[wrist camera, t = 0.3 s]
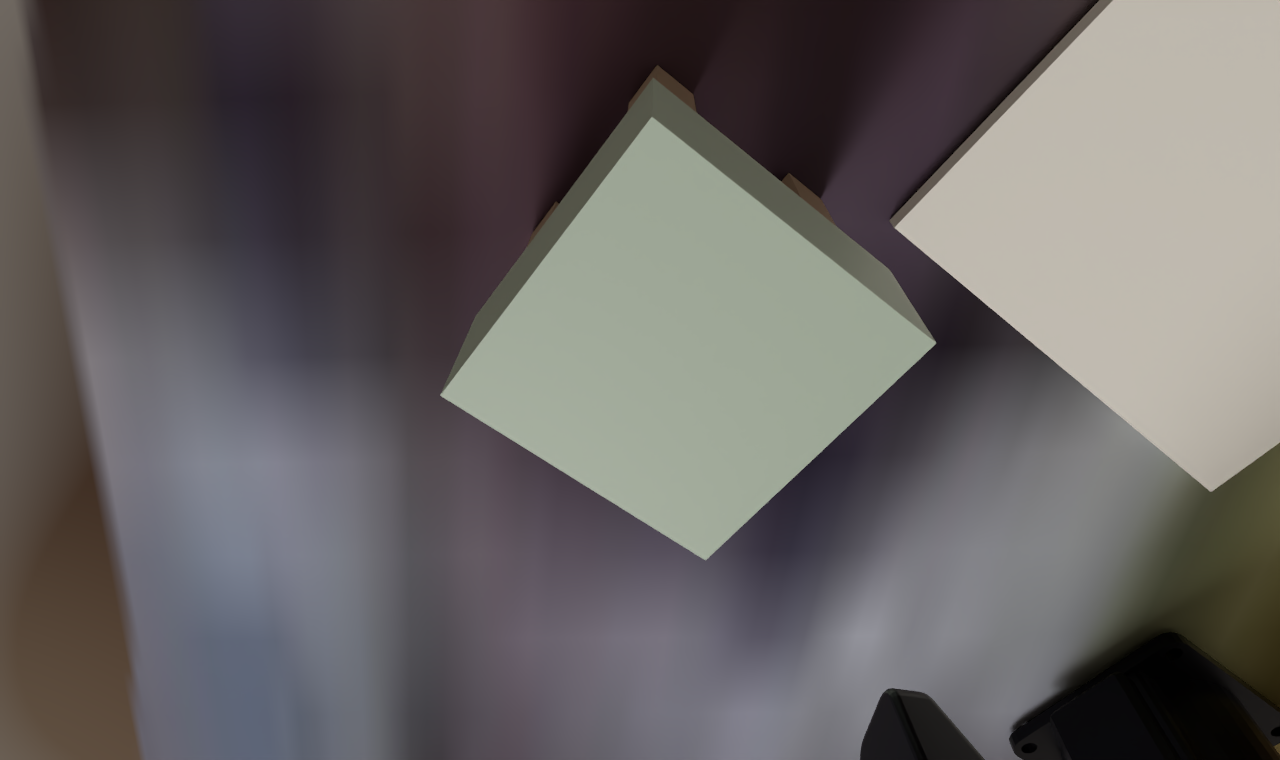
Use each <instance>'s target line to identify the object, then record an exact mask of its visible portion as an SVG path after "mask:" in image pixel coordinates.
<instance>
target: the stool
mask: <svg viewBox="0 0 1280 760" xmlns="http://www.w3.org/2000/svg"><path fill="white" fill-rule="evenodd" d="M935 344H936V342H935V340H934V339H933V337H932V335H931V334H930V332H929V331H928V329H927V328H926V326H925V324H924V323H923V321H922V320H921V318H920V317H919V315H918V314H917V312H916V310H915V309H914V307H913V306H912V304H911V303H910V301H909V299H908V298H907V296H906V295H905V293H904V292H903V290H902V289H901V287H900V285H899V284H898V282H897V281H896V279H895V278H894V276H893V274H892V273H891V271H890V270H889V269H888V268H887V267H886V266H884V265H883V264H882V263H881V262H879V261H878V260H877V259H876V258H874V257H873V256H872V255H871V254H870V253H868V252H867V251H866V250H865V249H863V248H862V247H861V246H860V245H858V244H857V243H856V242H855V241H854V240H852V239H851V238H850V237H849V236H847V235H846V234H845V233H844V232H843V231H841V230H840V229H839V228H838V227H836V225H835V223H834V222H833V220H832V218H831V216H830V214H829V213H828V211H827V209H826V207H825V205H824V204H823V202H822V200H821V199H820V198H819V197H818V196H816V195H815V194H814V193H813V192H812V191H810V190H809V189H808V188H807V187H806V186H804V185H803V184H802V183H801V182H799V181H798V180H797V179H796V178H795V177H793V176H792V175H791V174H790V173H788V174H787V175H786V177H785V178H784V179H783V180H782V181H780V180H779V179H777V178H776V177H775V176H774V175H772V174H771V173H770V172H769V171H768V170H766V169H765V168H764V167H763V166H761V165H760V164H759V163H758V162H756V161H755V160H754V159H753V158H752V157H750V156H749V155H748V154H747V153H745V152H744V151H743V150H742V149H740V148H739V147H738V146H737V145H736V144H734V143H733V142H732V141H731V140H729V139H728V138H727V137H726V136H724V135H723V134H722V133H721V132H720V131H718V130H717V129H716V128H715V127H713V126H712V125H711V124H710V123H709V122H707V121H706V120H705V119H704V118H702V117H701V116H700V115H699V114H697V112H696V106H695V101H694V96H693V94H692V93H691V92H690V91H688V90H687V89H686V88H685V87H684V86H682V85H681V84H680V83H679V82H678V81H676V80H675V79H674V78H673V77H671V76H670V75H669V74H668V73H667V72H665V71H664V70H663V69H662V68H660V67H659V66H658V65H657V66H656V67H655V68H654V70H653V71H652V72H651V74H650V75H649V76H648V78H647V79H646V80H645V82H644V83H643V84H642V86H641V87H640V89H639V90H638V91H637V93H636V94H635V95H634V97H633V98H632V99H631V101H630V102H629V106H628V112H627V113H626V115H625V116H624V117H623V119H622V120H621V121H620V123H619V124H618V125H617V127H616V128H615V129H614V131H613V132H612V134H611V135H610V136H609V138H608V139H607V140H606V142H605V143H604V144H603V146H602V147H601V148H600V150H599V151H598V152H597V154H596V155H595V156H594V158H593V159H592V160H591V162H590V163H589V164H588V166H587V167H586V169H585V170H584V171H583V173H582V174H581V175H580V177H579V178H578V179H577V181H576V182H575V183H574V185H573V186H572V187H571V189H570V190H569V191H568V193H567V194H566V195H565V197H564V198H563V199H562V201H561V202H560V204H559V203H558V202H555V203H554V205H553V206H552V207H551V209H550V210H549V212H548V213H547V214H546V216H545V217H544V218H543V220H542V221H541V222H540V224H539V225H538V226H537V228H536V229H535V230H534V232H533V233H532V235H531V238H530V240H529V243H528V245H527V248H526V249H525V251H524V252H523V253H522V255H521V256H520V257H519V259H518V260H517V261H516V263H515V264H514V265H513V267H512V268H511V269H510V271H509V272H508V274H507V275H506V276H505V278H504V279H503V280H502V282H501V283H500V284H499V286H498V287H497V288H496V290H495V291H494V292H493V294H492V295H491V296H490V298H489V299H488V300H487V302H486V303H485V304H484V306H483V307H482V308H481V310H480V311H479V313H478V314H477V315H476V317H475V319H474V321H473V323H472V326H471V328H470V330H469V332H468V335H467V337H466V339H465V341H464V344H463V346H462V348H461V350H460V352H459V355H458V357H457V359H456V361H455V364H454V366H453V368H452V370H451V373H450V375H449V377H448V379H447V382H446V384H445V386H444V388H443V390H442V393H441V395H440V396H442V397H443V398H445V399H447V400H448V401H450V402H452V403H453V404H455V405H456V406H458V407H460V408H461V409H463V410H464V411H466V412H468V413H469V414H471V415H472V416H474V417H476V418H477V419H479V420H480V421H482V422H484V423H485V424H487V425H489V426H490V427H492V428H493V429H495V430H497V431H498V432H500V433H501V434H503V435H505V436H506V437H508V438H509V439H511V440H513V441H514V442H516V443H518V444H519V445H521V446H522V447H524V448H526V449H527V450H529V451H530V452H532V453H534V454H535V455H537V456H538V457H540V458H542V459H543V460H545V461H546V462H548V463H550V464H551V465H553V466H555V467H556V468H558V469H559V470H561V471H563V472H564V473H566V474H567V475H569V476H571V477H572V478H574V479H575V480H577V481H579V482H580V483H582V484H583V485H585V486H587V487H588V488H590V489H592V490H593V491H595V492H596V493H598V494H600V495H601V496H603V497H604V498H606V499H608V500H609V501H611V502H612V503H614V504H616V505H617V506H619V507H620V508H622V509H624V510H625V511H627V512H629V513H630V514H632V515H633V516H635V517H637V518H638V519H640V520H641V521H643V522H645V523H646V524H648V525H649V526H651V527H653V528H654V529H656V530H657V531H659V532H661V533H662V534H664V535H666V536H667V537H669V538H670V539H672V540H674V541H675V542H677V543H678V544H680V545H682V546H683V547H685V548H686V549H688V550H690V551H691V552H693V553H694V554H696V555H698V556H699V557H701V558H703V559H704V560H706V559H707V558H709V557H710V556H711V555H712V554H713V553H714V552H715V551H716V550H717V549H718V548H719V547H720V546H721V545H722V544H723V543H724V542H726V541H727V540H728V539H729V538H730V537H731V536H732V535H733V534H734V533H735V532H736V531H737V530H738V529H739V528H740V527H742V526H743V525H744V524H745V523H746V522H747V521H748V520H749V519H750V518H751V517H752V516H753V515H754V514H755V513H756V512H757V511H759V510H760V509H761V508H762V507H763V506H764V505H765V504H766V503H767V502H768V501H769V500H770V499H771V498H772V497H773V496H774V495H776V494H777V493H778V492H779V491H780V490H781V489H782V488H783V487H784V486H785V485H786V484H787V483H788V482H789V481H790V480H791V479H793V478H794V477H795V476H796V475H797V474H798V473H799V472H800V471H801V470H802V469H803V468H804V467H805V466H806V465H807V464H809V463H810V462H811V461H812V460H813V459H814V458H815V457H816V456H817V455H818V454H819V453H820V452H821V451H822V450H823V449H824V448H826V447H827V446H828V445H829V444H830V443H831V442H832V441H833V440H834V439H835V438H836V437H837V436H838V435H839V434H840V433H841V432H843V431H844V430H845V429H846V428H847V427H848V426H849V425H850V424H851V423H852V422H853V421H854V420H855V419H856V418H857V417H858V416H860V415H861V414H862V413H863V412H864V411H865V410H866V409H867V408H868V407H869V406H870V405H871V404H872V403H873V402H874V401H875V400H877V399H878V398H879V397H880V396H881V395H882V394H883V393H884V392H885V391H886V390H887V389H888V388H889V387H890V386H891V385H893V384H894V383H895V382H896V381H897V380H898V379H899V378H900V377H901V376H902V375H903V374H904V373H905V372H906V371H907V370H908V369H910V368H911V367H912V366H913V365H914V364H915V363H916V362H917V361H918V360H919V359H920V358H921V357H922V356H923V355H924V354H925V353H927V352H928V351H929V350H930V349H931V348H932V347H933V346H934V345H935Z"/></svg>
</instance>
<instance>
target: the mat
mask: <svg viewBox="0 0 1280 760" xmlns="http://www.w3.org/2000/svg"><path fill="white" fill-rule="evenodd" d="M889 221H890V222H891V224H892V225H893V226H894V228H895V229H897V230H898V231H899V232H900V233H901V234H903V235H904V236H905V237H906V238H907V239H909V240H910V241H911V242H912V243H913V244H915V245H916V246H917V247H918V248H919V249H921V250H922V251H923V252H924V253H925V254H927V255H928V256H929V257H930V258H931V259H932V260H934V261H935V262H936V263H937V264H938V265H940V266H941V267H942V268H943V269H944V270H946V271H947V272H948V273H949V274H950V275H952V276H953V277H954V278H955V279H956V280H958V281H959V282H960V283H961V284H962V285H964V286H965V287H966V288H967V289H968V290H970V291H971V292H972V293H973V294H974V295H976V296H977V297H978V298H979V299H980V300H982V301H983V302H984V303H985V304H986V305H988V306H989V307H990V308H991V309H992V310H994V311H995V312H996V313H997V314H998V315H1000V316H1001V317H1002V318H1003V319H1004V320H1006V321H1007V322H1008V323H1009V324H1010V325H1011V326H1013V327H1014V328H1015V329H1016V330H1017V331H1019V332H1020V333H1021V334H1022V335H1023V336H1025V337H1026V338H1027V339H1028V340H1029V341H1031V342H1032V343H1033V344H1034V345H1035V346H1037V347H1038V348H1039V349H1040V350H1041V351H1043V352H1044V353H1045V354H1046V355H1047V356H1049V357H1050V358H1051V359H1052V360H1053V361H1055V362H1056V363H1057V364H1058V365H1059V366H1061V367H1062V368H1063V369H1064V370H1065V371H1067V372H1068V373H1069V374H1070V375H1071V376H1073V377H1074V378H1075V379H1076V380H1077V381H1079V382H1080V383H1081V384H1082V385H1083V386H1085V387H1086V388H1087V389H1088V390H1089V391H1091V392H1092V393H1093V394H1094V395H1095V396H1096V397H1098V398H1099V399H1100V400H1101V401H1102V402H1104V403H1105V404H1106V405H1107V406H1108V407H1110V408H1111V409H1112V410H1113V411H1114V412H1116V413H1117V414H1118V415H1119V416H1120V417H1122V418H1123V419H1124V420H1125V421H1126V422H1128V423H1129V424H1130V425H1131V426H1132V427H1134V428H1135V429H1136V430H1137V431H1138V432H1140V433H1141V434H1142V435H1143V436H1144V437H1146V438H1147V439H1148V440H1149V441H1150V442H1152V443H1153V444H1154V445H1155V446H1156V447H1158V448H1159V449H1160V450H1161V451H1162V452H1164V453H1165V454H1166V455H1167V456H1168V457H1170V458H1171V459H1172V460H1173V461H1174V462H1176V463H1177V464H1178V465H1179V466H1180V467H1181V468H1183V469H1184V470H1185V471H1186V472H1187V473H1189V474H1190V475H1191V476H1192V477H1193V478H1195V479H1196V480H1197V481H1198V482H1199V483H1201V484H1202V485H1203V486H1204V487H1205V488H1207V489H1208V490H1209V491H1210V492H1212V491H1213V490H1215V489H1216V488H1217V487H1219V486H1220V485H1222V484H1223V483H1224V482H1226V481H1227V480H1228V479H1230V478H1231V477H1233V476H1234V475H1235V474H1237V473H1238V472H1240V471H1241V470H1242V469H1244V468H1245V467H1246V466H1248V465H1249V464H1251V463H1252V462H1253V461H1255V460H1256V459H1258V458H1259V457H1260V456H1262V455H1263V454H1264V453H1266V452H1267V451H1269V450H1270V449H1271V448H1273V447H1274V446H1276V445H1277V444H1278V443H1280V0H1099V1H1098V2H1097V3H1096V4H1095V5H1094V6H1093V8H1092V9H1091V10H1090V11H1089V12H1088V13H1087V14H1086V15H1085V16H1084V17H1083V18H1082V19H1081V20H1080V21H1079V22H1078V23H1077V24H1076V25H1075V26H1074V27H1073V29H1072V30H1071V31H1070V32H1069V33H1068V34H1067V35H1066V36H1065V37H1064V38H1063V39H1062V40H1061V41H1060V42H1059V43H1058V44H1057V45H1056V46H1055V47H1054V48H1053V49H1052V51H1051V52H1050V53H1049V54H1048V55H1047V56H1046V57H1045V58H1044V59H1043V60H1042V61H1041V62H1040V63H1039V64H1038V65H1037V66H1036V67H1035V68H1034V69H1033V70H1032V71H1031V73H1030V74H1029V75H1028V76H1027V77H1026V78H1025V79H1024V80H1023V81H1022V82H1021V83H1020V84H1019V85H1018V86H1017V87H1016V88H1015V89H1014V90H1013V91H1012V92H1011V93H1010V95H1009V96H1008V97H1007V98H1006V99H1005V100H1004V101H1003V102H1002V103H1001V104H1000V105H999V106H998V107H997V108H996V109H995V110H994V111H993V112H992V113H991V114H990V116H989V117H988V118H987V119H986V120H985V121H984V122H983V123H982V124H981V125H980V126H979V127H978V128H977V129H976V130H975V131H974V132H973V133H972V134H971V135H970V136H969V138H968V139H967V140H966V141H965V142H964V143H963V144H962V145H961V146H960V147H959V148H958V149H957V150H956V151H955V152H954V153H953V154H952V155H951V156H950V157H949V158H948V160H947V161H946V162H945V163H944V164H943V165H942V166H941V167H940V168H939V169H938V170H937V171H936V172H935V173H934V174H933V175H932V176H931V177H930V178H929V179H928V181H927V182H926V183H925V184H924V185H923V186H922V187H921V188H920V189H919V190H918V191H917V192H916V193H915V194H914V195H913V196H912V197H911V198H910V199H909V200H908V201H907V203H906V204H905V205H904V206H903V207H902V208H901V209H900V210H899V211H898V212H897V213H896V214H895V215H894V216H893V217H892V218H891V219H890V220H889Z"/></svg>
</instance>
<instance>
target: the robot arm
mask: <svg viewBox="0 0 1280 760" xmlns="http://www.w3.org/2000/svg"><path fill="white" fill-rule="evenodd" d="M1009 741H1010V744H1011V746H1012V749H1013V751H1014V753H1015V754H1016V755H1017V756H1018V757H1020V758H1021V759H1023V760H1280V755H1279V753H1278V752H1277V751H1276V749H1275V748H1274V747H1273V746H1275V745H1277V744H1278V743H1280V708H1279V707H1277V706H1276V705H1275V704H1273V703H1272V702H1271V701H1269V700H1268V699H1266V698H1265V697H1264V696H1262V695H1261V694H1260V693H1258V692H1257V691H1256V690H1254V689H1253V688H1252V687H1250V686H1249V685H1248V684H1246V683H1245V682H1244V681H1242V680H1241V679H1240V678H1238V677H1237V676H1236V675H1234V674H1233V673H1231V672H1230V671H1229V670H1227V669H1226V668H1225V667H1223V666H1222V665H1221V664H1219V663H1218V662H1217V661H1215V660H1214V659H1213V658H1211V657H1210V656H1209V655H1207V654H1206V653H1205V652H1203V651H1202V650H1201V649H1199V648H1198V647H1197V646H1195V645H1194V644H1192V643H1191V642H1190V641H1188V640H1187V639H1186V638H1184V637H1183V636H1182V635H1180V634H1178V633H1171V632H1169V633H1165V634H1162V635H1160V636H1158V637H1156V638H1154V639H1153V640H1151V641H1150V642H1148V643H1147V644H1145V645H1144V646H1142V647H1141V648H1139V649H1138V650H1136V651H1135V652H1133V653H1132V654H1130V655H1129V656H1127V657H1126V658H1124V659H1123V660H1121V661H1120V662H1118V663H1117V664H1115V665H1114V666H1112V667H1111V668H1109V669H1108V670H1106V671H1105V672H1103V673H1102V674H1100V675H1099V676H1097V677H1096V678H1094V679H1093V680H1091V681H1090V682H1088V683H1087V684H1085V685H1084V686H1082V687H1081V688H1079V689H1078V690H1076V691H1075V692H1073V693H1072V694H1070V695H1069V696H1067V697H1066V698H1064V699H1063V700H1061V701H1060V702H1058V703H1056V704H1055V705H1053V706H1052V707H1050V708H1049V709H1047V710H1046V711H1044V712H1043V713H1041V714H1040V715H1038V716H1037V717H1035V718H1034V719H1032V720H1031V721H1029V722H1028V723H1026V724H1025V725H1023V726H1022V727H1020V728H1019V729H1017V730H1016V731H1014V732H1013V733H1012V734H1011V736H1010V738H1009ZM860 760H985V759H984V758H983V757H982V756H981V755H980V754H979V753H978V751H977V750H976V749H975V748H974V747H973V746H972V744H971V743H970V742H969V741H968V740H967V739H966V737H965V736H964V735H963V734H962V733H961V732H960V730H959V729H958V728H957V727H956V726H955V725H954V723H953V722H952V721H951V720H950V719H949V718H948V716H947V715H946V714H945V713H944V712H943V711H942V709H941V708H940V707H939V706H938V705H937V704H936V702H935V701H934V700H933V699H932V698H931V697H929V696H928V695H927V694H925V693H922V692H916V691H909V690H901V689H894V688H892V689H888V690H886V691H885V692H884V693H883V694H882V696H881V698H880V700H879V702H878V705H877V707H876V709H875V712H874V714H873V717H872V719H871V722H870V724H869V726H868V729H867V731H866V734H865V736H864V739H863V742H862V746H861V754H860Z"/></svg>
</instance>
